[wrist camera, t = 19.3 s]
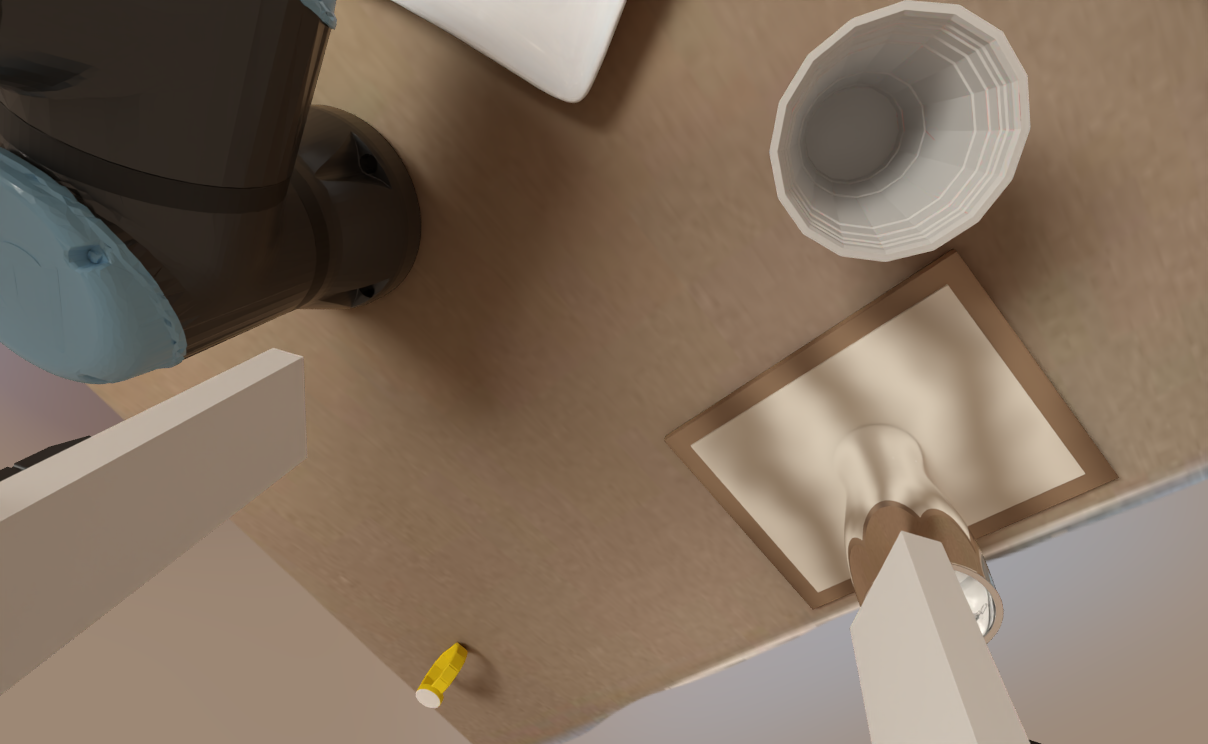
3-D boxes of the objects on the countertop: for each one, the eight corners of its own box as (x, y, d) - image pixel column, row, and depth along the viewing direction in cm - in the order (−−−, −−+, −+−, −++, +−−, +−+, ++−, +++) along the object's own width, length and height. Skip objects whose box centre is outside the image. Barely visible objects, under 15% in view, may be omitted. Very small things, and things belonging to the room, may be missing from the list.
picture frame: (811, 602, 51) (813, 611, 50) (665, 436, 48) (664, 442, 47) (1112, 471, 41) (1120, 479, 40) (952, 248, 38) (957, 252, 37)
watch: (451, 667, 66) (422, 717, 61) (432, 651, 66) (402, 700, 61) (479, 648, 63) (452, 698, 58) (460, 631, 63) (430, 681, 58)
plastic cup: (976, 172, 36) (1070, 198, 25) (801, 249, 40) (820, 299, 29) (918, -8, 33) (997, -65, 23) (737, 93, 37) (731, 86, 27)
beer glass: (926, 499, 44) (1002, 668, 31) (826, 499, 46) (858, 659, 33) (930, 416, 42) (1015, 561, 28) (825, 419, 43) (858, 557, 30)
